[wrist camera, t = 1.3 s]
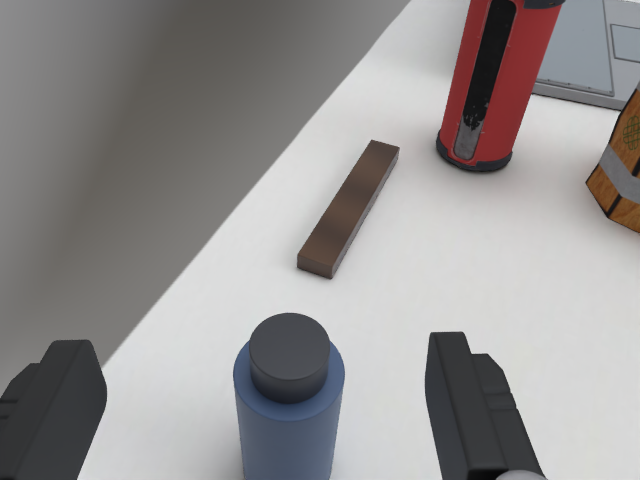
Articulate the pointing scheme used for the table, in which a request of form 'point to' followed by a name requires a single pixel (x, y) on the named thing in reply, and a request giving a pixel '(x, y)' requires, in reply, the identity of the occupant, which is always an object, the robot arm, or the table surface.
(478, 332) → the table surface
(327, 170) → the table surface
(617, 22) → the laptop
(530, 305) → the table surface
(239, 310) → the table surface
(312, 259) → the walnut strip
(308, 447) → the water bottle
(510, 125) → the speaker
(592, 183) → the mug
